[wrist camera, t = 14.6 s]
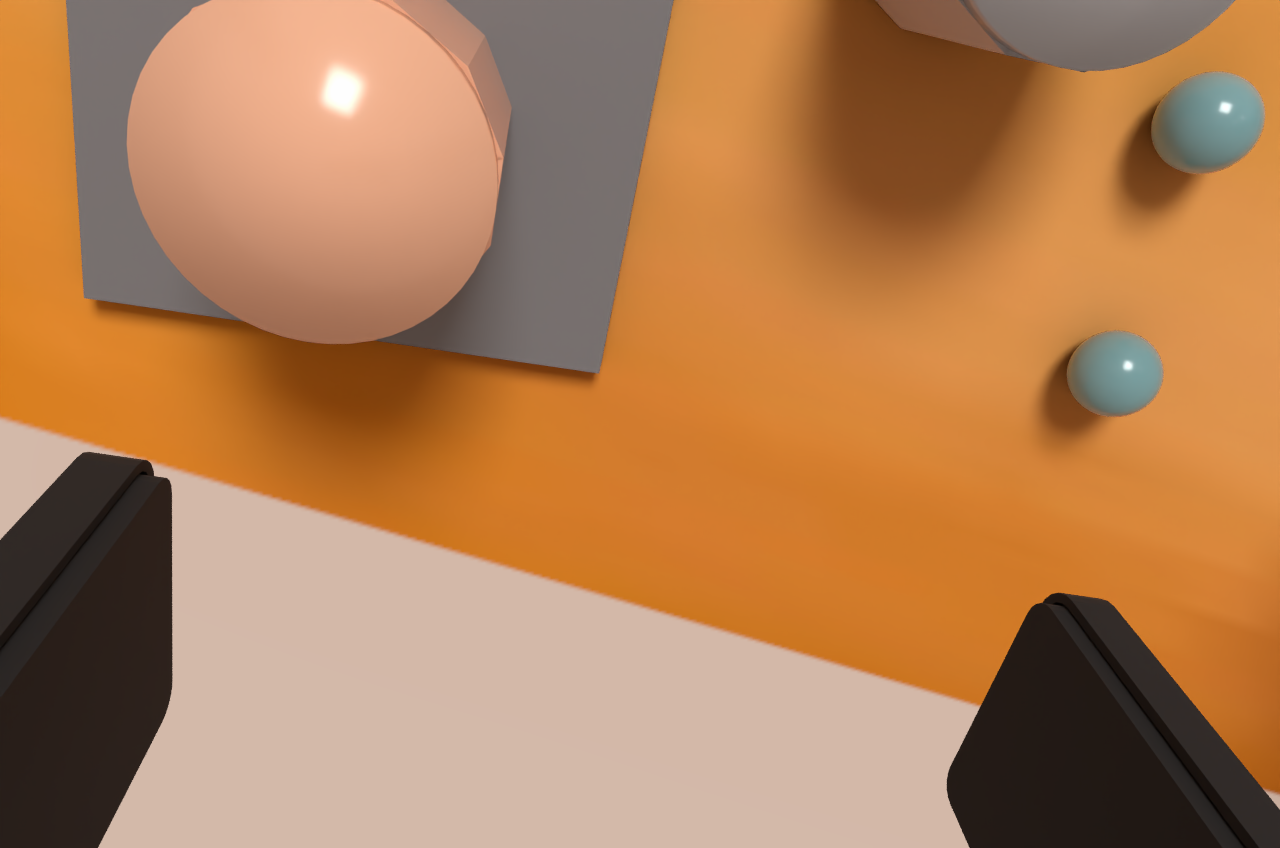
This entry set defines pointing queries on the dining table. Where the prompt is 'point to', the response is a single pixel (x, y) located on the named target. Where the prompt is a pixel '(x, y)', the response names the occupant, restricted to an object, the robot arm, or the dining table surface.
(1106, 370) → the marble
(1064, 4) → the grey cup
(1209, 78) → the marble
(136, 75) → the mat
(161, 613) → the robot arm
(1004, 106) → the dining table surface
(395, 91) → the peach rounded capsule
